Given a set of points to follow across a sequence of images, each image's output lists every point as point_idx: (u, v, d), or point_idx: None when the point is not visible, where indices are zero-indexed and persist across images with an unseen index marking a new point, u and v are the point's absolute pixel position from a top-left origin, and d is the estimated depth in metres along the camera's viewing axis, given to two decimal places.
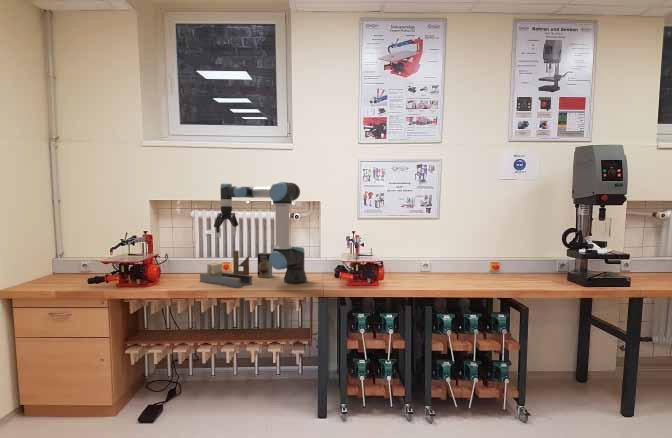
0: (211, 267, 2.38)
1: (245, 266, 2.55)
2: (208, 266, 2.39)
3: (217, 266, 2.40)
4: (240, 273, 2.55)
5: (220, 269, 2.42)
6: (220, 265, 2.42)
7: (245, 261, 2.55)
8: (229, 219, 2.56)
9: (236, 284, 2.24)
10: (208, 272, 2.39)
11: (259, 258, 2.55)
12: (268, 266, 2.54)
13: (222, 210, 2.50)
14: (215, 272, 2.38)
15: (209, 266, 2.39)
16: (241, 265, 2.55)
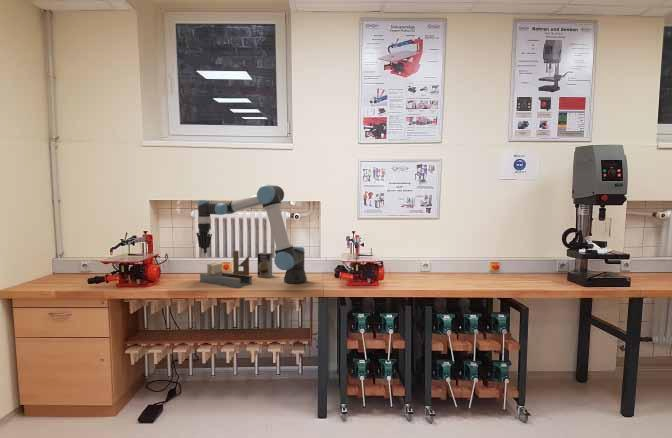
0: (211, 267, 2.38)
1: (245, 266, 2.55)
2: (208, 266, 2.39)
3: (217, 266, 2.40)
4: (240, 273, 2.55)
5: (220, 269, 2.42)
6: (220, 265, 2.42)
7: (245, 261, 2.55)
8: None
9: (236, 284, 2.24)
10: (208, 272, 2.39)
11: (259, 258, 2.55)
12: (268, 266, 2.54)
13: None
14: (215, 272, 2.38)
15: (209, 266, 2.39)
16: (241, 265, 2.55)
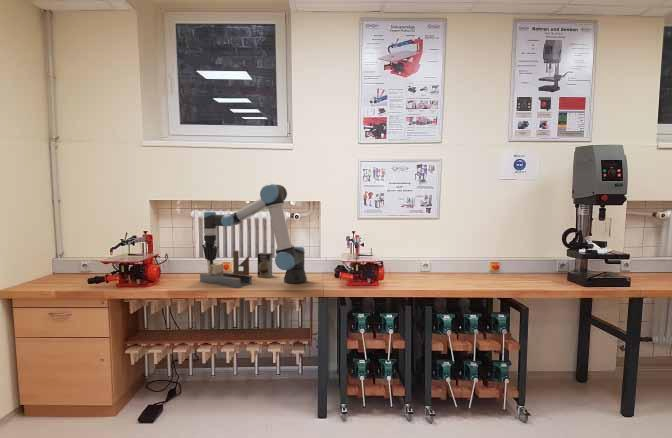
0: (212, 267, 2.37)
1: (245, 266, 2.55)
2: (209, 266, 2.39)
3: (218, 266, 2.39)
4: (240, 273, 2.55)
5: (221, 269, 2.41)
6: (221, 265, 2.41)
7: (245, 261, 2.55)
8: None
9: (236, 284, 2.24)
10: (209, 272, 2.39)
11: (259, 258, 2.55)
12: (268, 266, 2.54)
13: None
14: (216, 272, 2.38)
15: (210, 266, 2.38)
16: (241, 265, 2.55)
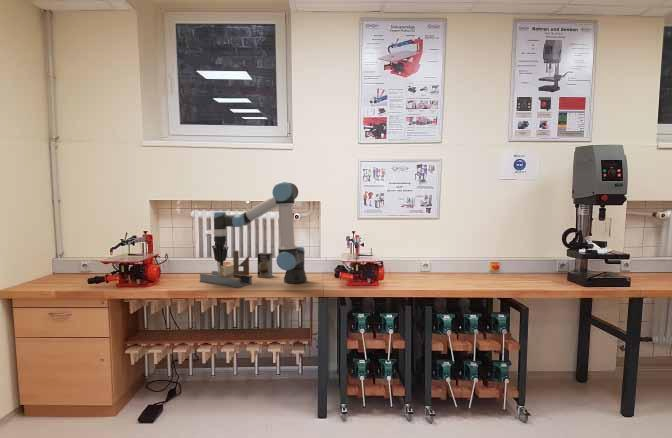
0: (222, 268, 2.33)
1: (245, 266, 2.55)
2: (219, 268, 2.34)
3: (229, 268, 2.35)
4: (240, 273, 2.55)
5: (232, 271, 2.37)
6: (232, 267, 2.37)
7: (245, 261, 2.55)
8: None
9: (236, 284, 2.24)
10: (219, 274, 2.34)
11: (259, 258, 2.55)
12: (268, 266, 2.54)
13: None
14: (227, 274, 2.33)
15: (220, 268, 2.34)
16: (241, 265, 2.55)
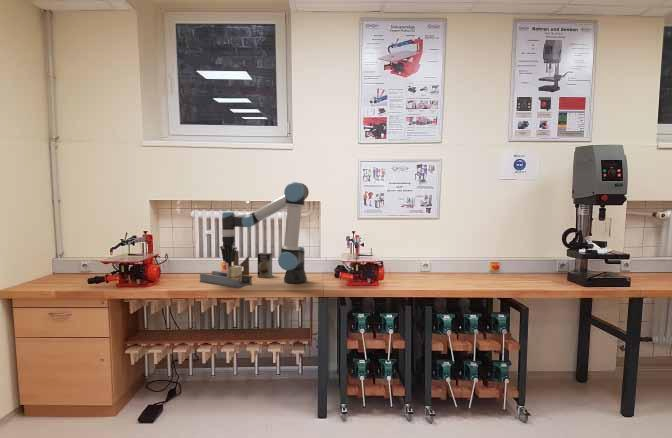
0: (231, 269, 2.29)
1: (245, 266, 2.55)
2: (228, 269, 2.30)
3: (237, 269, 2.31)
4: None
5: (240, 272, 2.33)
6: (240, 268, 2.33)
7: (245, 261, 2.55)
8: None
9: (236, 284, 2.24)
10: (228, 275, 2.31)
11: (259, 258, 2.55)
12: (268, 266, 2.54)
13: None
14: (235, 275, 2.30)
15: (229, 269, 2.30)
16: (241, 265, 2.55)
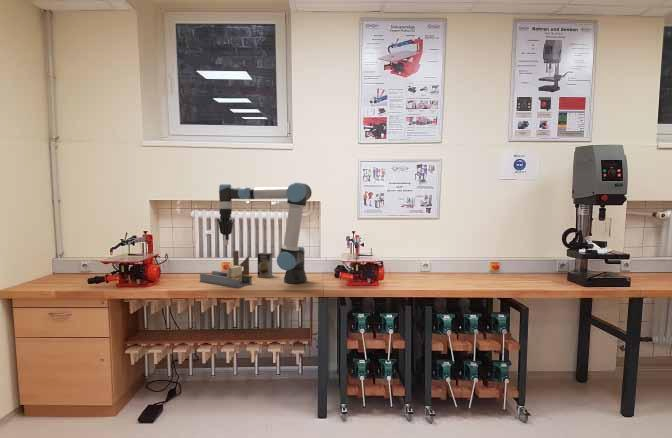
0: (231, 269, 2.29)
1: (245, 266, 2.55)
2: (228, 269, 2.30)
3: (237, 269, 2.31)
4: None
5: (240, 272, 2.33)
6: (240, 268, 2.33)
7: (245, 261, 2.55)
8: None
9: (236, 284, 2.24)
10: (228, 275, 2.30)
11: (259, 258, 2.55)
12: (268, 266, 2.54)
13: None
14: (235, 275, 2.29)
15: (229, 269, 2.30)
16: (241, 265, 2.55)
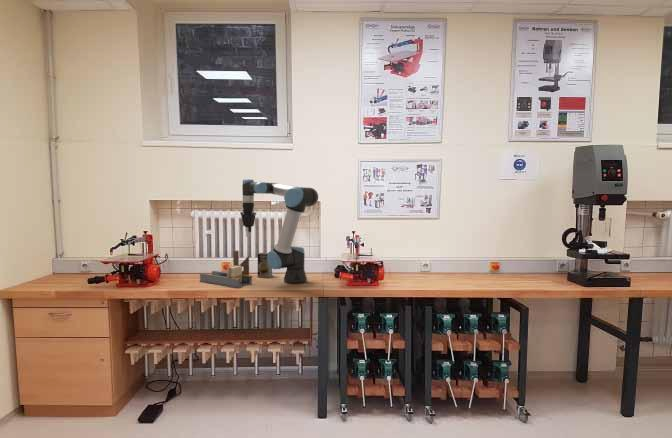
0: (231, 269, 2.29)
1: (245, 266, 2.55)
2: (228, 269, 2.30)
3: (237, 269, 2.31)
4: None
5: (240, 272, 2.33)
6: (240, 268, 2.33)
7: (245, 261, 2.55)
8: None
9: (236, 284, 2.24)
10: (228, 275, 2.30)
11: (259, 258, 2.55)
12: (268, 266, 2.54)
13: None
14: (235, 275, 2.29)
15: (229, 269, 2.30)
16: (241, 265, 2.55)
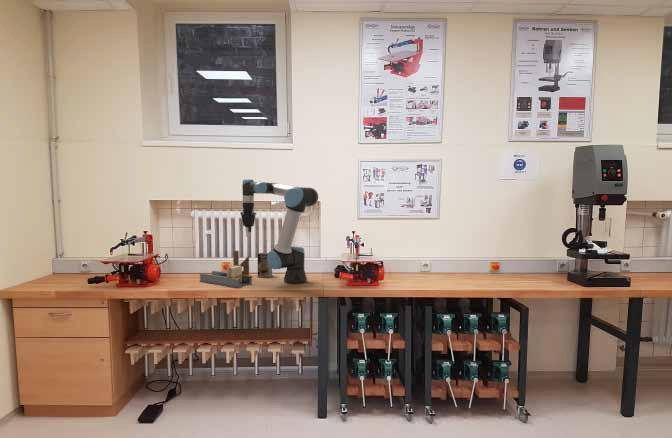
0: (231, 269, 2.29)
1: (245, 266, 2.55)
2: (228, 269, 2.30)
3: (237, 269, 2.31)
4: None
5: (240, 272, 2.33)
6: (240, 268, 2.33)
7: (245, 261, 2.55)
8: None
9: (236, 284, 2.24)
10: (228, 275, 2.30)
11: (259, 258, 2.55)
12: (268, 266, 2.54)
13: None
14: (235, 275, 2.29)
15: (229, 269, 2.30)
16: (241, 265, 2.55)
